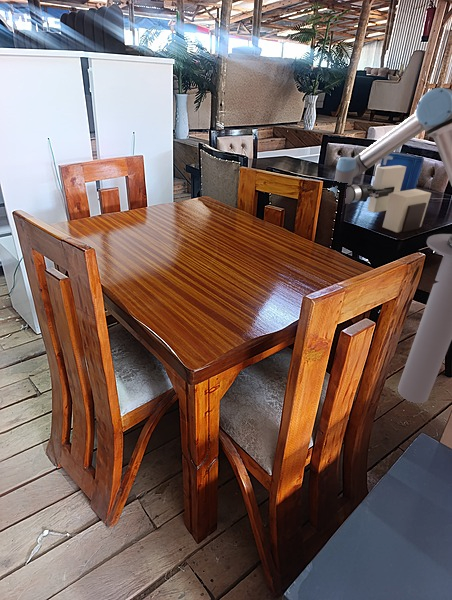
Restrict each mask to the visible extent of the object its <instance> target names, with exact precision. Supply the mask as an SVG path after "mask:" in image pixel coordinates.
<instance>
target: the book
mask: <svg viewBox="0 0 452 600" xmlns="http://www.w3.org/2000/svg"><path fill="white" fill-rule="evenodd" d="M424 161H425V158H424V156H418V155H415V154H412V153H406V152H400V151H393V152H392V153H390V154H389V155H387V156H386V157H384V158H383V159H382V160H380V163H379V164H380V167H386V166H396V165H401V166H405V167H406V171H405V174H404V178H403V182H402V186H401V189H400V191H405V190H411V189H417V188H416V187H417V185H418V181H419V177H420V174H421V171H422V167H423V165H424Z"/></svg>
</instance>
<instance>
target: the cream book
mask: <svg viewBox="0 0 452 600" xmlns="http://www.w3.org/2000/svg"><path fill="white" fill-rule="evenodd" d="M376 167H377V166H376ZM405 171H406V167H405V166H401V165H396V166H386V167H377V170H376V169H375V172H376V175H375V174H374V177H375V179H374V178H373V181H374V183H373V182H372V186H373V188H374V189H384V188H388V187H395V188H394V192H399V191H400V189H401V186H402V182H403V178H404V174H405ZM390 195H391V193H389V194H388V196H384V197H379V198H375V197H374V196H373V197H369V201H368V205H367V208H366V211H368V212H371V213H380V212H385V211H387V207H388V203H389V199H390Z"/></svg>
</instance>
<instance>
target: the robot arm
mask: <svg viewBox="0 0 452 600" xmlns="http://www.w3.org/2000/svg"><path fill="white" fill-rule="evenodd" d="M424 131H425V133H426V134H425V135H426V136H427V137H429V138H432V139H433V141H434V144H435V146H436V148H437V152H438V154H439V156H440V157H439V158H440V159H441V163H442V164H443V167H444V171H445V172H446V175H447V177H448V180H449V183H450V185H451V186H452V89H451V88H447V87H436V88H435V87H434V88H432V89H430V90H429V91H427V92H425V94H423V95H422V97H420V99H419V100H418V103H417V104H416V109H415V110H414V113H413V114H412V115H410V116H409V117H408V118H406V119H405V120H404V121H402V122H401V123H400V124H398V125H397V126H396V127H393V128H392V129H391V130H390V131H388V132H387V133H386V134H384V136H381V138H379V139H378V140H377V141H375V142H373V144H371V145H369V146H368V147H367V148H366V149H364V150H363V151H362V152H360V153H359V154H357V155H356V156H355V157H350V156H341V157H339V158H338V160H337V164H336V168H335V175H334V179H333V182H334V181H337V182H339V183H340V182H342V183H348V184H347V185H348V186H347V189H346V198H345V204H348V205H350V204H351V203H358V202H359V203H360V202H364V201H365V200H366V199H367V198H370V197H373V196H374V197H375V198H379V197H384V196H388V194H389V193H392V192H394V188H395V187H388V188H384V189H374V188H373V184H363V183H358V184H353V180H354V178H356V177H358V176H361V175H363V174H364V172H366V171H367V170H368V169H370V168H371V167H373V166H374V165H377V163H379V162H381V160H382V159H383V158H384V157H386V156H387V155H389V154H390V153H392V152H396V150H398V149H399V148H401V147H402V146H403V145H405V144H406V143H408V142H409V141H410V140H412V139H414V138H416V137H417V136H418V135H420V134H422V133H423V132H424ZM337 188H338V186H337V185H336V186H335V187H333V186H332V187H330V188H329V189H328V190H330V191H333V192H334V193H335V196H336V194H337V191H338V189H337ZM337 197H338V196H336V198H337ZM345 204H344V205H345ZM447 245H448V246H450V247H451V248H452V235H451V236H450V237H449V239H448V242H447Z"/></svg>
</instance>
